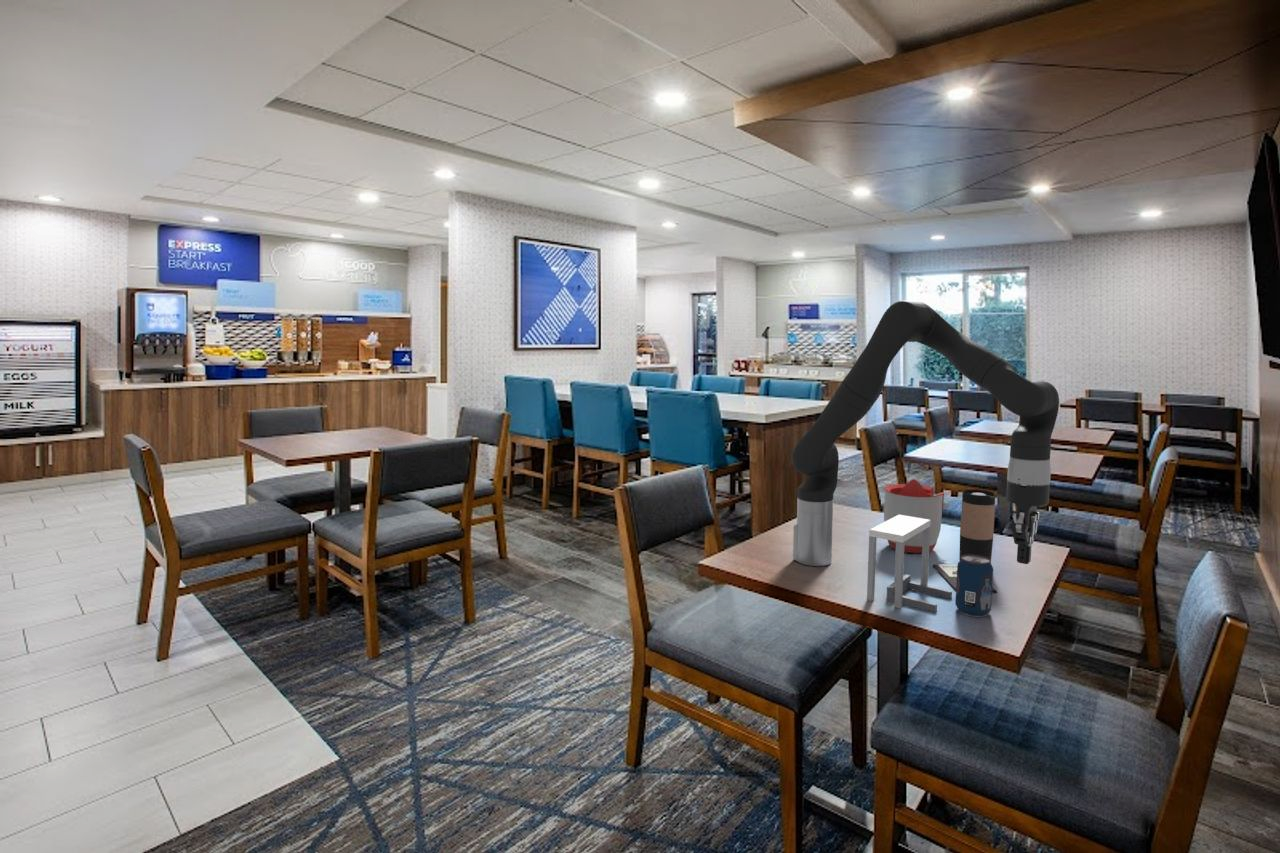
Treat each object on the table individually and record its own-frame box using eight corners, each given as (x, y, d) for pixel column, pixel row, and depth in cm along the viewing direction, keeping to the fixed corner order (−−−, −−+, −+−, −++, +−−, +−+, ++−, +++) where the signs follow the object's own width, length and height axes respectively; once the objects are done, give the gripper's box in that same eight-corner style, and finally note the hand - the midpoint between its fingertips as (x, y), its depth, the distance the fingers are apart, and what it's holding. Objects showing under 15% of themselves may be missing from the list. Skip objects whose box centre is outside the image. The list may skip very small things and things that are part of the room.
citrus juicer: (958, 556, 181) (961, 484, 178) (895, 557, 180) (898, 485, 178) (930, 539, 196) (933, 473, 194) (873, 540, 196) (875, 474, 193)
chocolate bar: (956, 589, 155) (932, 564, 173) (956, 593, 155) (932, 567, 173) (997, 590, 154) (968, 565, 172) (996, 594, 154) (968, 568, 172)
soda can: (959, 603, 149) (962, 551, 147) (993, 610, 144) (997, 557, 143) (951, 612, 143) (954, 559, 142) (986, 621, 139) (989, 566, 137)
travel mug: (954, 562, 175) (958, 488, 173) (986, 564, 174) (990, 489, 171) (962, 572, 168) (966, 495, 166) (995, 574, 167) (1000, 496, 164)
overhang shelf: (866, 599, 151) (869, 529, 149) (896, 579, 163) (898, 514, 161) (930, 616, 141) (933, 541, 139) (956, 593, 154) (959, 524, 152)
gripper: (1016, 472, 141) (1011, 551, 143) (999, 482, 132) (994, 566, 134) (1056, 477, 136) (1051, 558, 138) (1042, 487, 127) (1036, 575, 129)
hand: (1023, 562), depth 136 cm, fingers closed
